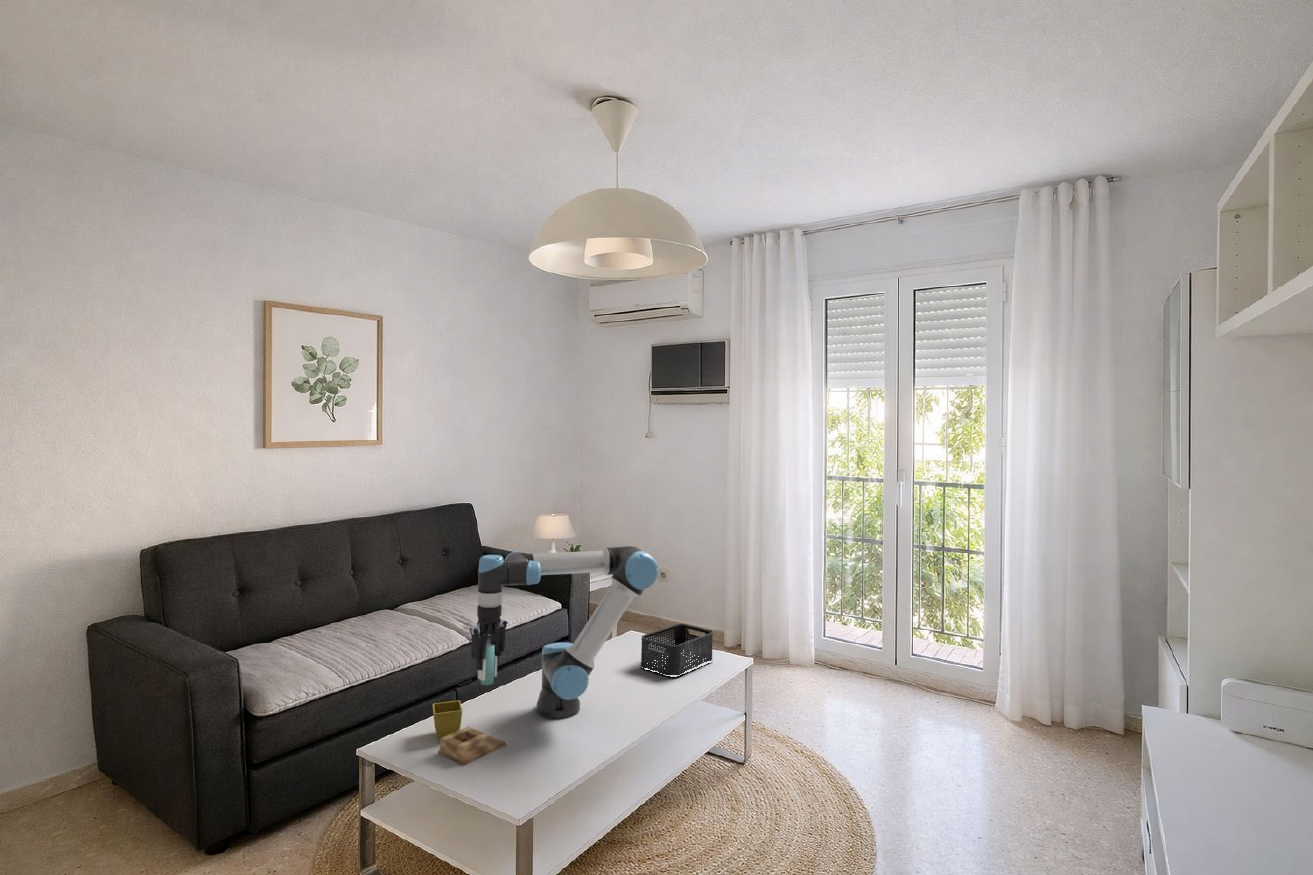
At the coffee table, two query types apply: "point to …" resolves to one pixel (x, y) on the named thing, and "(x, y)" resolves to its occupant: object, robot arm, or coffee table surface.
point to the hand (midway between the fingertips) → (487, 677)
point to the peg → (489, 664)
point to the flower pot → (447, 717)
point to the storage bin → (676, 649)
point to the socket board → (468, 745)
